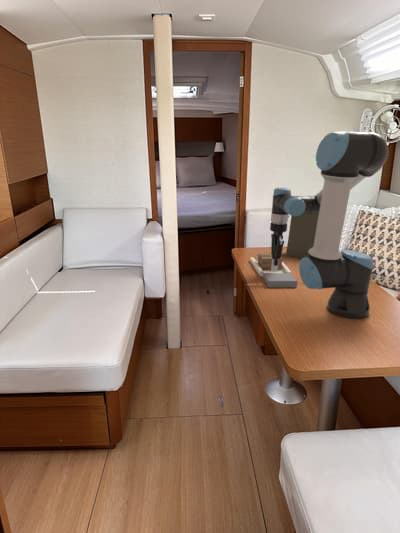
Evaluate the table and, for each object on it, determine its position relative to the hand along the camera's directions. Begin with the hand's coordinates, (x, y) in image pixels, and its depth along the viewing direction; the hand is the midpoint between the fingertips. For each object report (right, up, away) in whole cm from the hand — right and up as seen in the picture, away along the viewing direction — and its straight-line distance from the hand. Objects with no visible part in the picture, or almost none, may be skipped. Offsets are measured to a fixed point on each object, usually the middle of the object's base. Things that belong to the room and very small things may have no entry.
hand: (274, 270), depth 175 cm
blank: (-1, +2, +9) cm, 9 cm away
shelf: (-1, 0, +8) cm, 8 cm away
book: (+24, +7, +30) cm, 40 cm away
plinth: (+1, -5, -8) cm, 9 cm away
